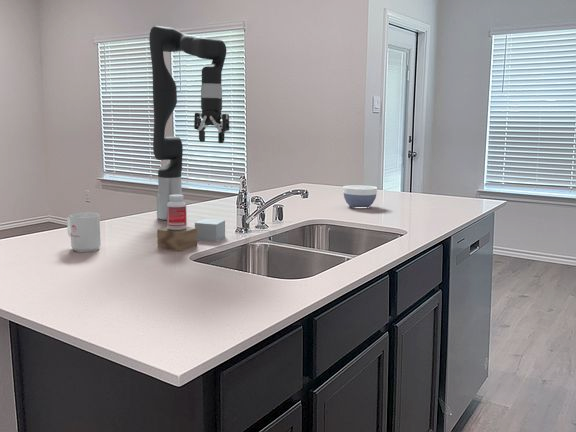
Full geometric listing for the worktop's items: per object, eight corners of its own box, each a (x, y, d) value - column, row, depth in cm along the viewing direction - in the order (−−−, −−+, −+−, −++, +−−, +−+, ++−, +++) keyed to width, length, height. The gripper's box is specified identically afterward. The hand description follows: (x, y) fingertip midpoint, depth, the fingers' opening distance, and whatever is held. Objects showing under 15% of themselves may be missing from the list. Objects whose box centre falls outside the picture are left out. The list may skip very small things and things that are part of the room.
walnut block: (157, 247, 191) (157, 229, 189) (176, 242, 198) (175, 225, 197) (179, 251, 186) (178, 232, 185) (197, 246, 194) (196, 228, 193)
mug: (106, 248, 188) (105, 214, 186) (85, 254, 181) (83, 218, 179) (80, 243, 194) (78, 210, 192) (58, 249, 186) (56, 214, 184)
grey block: (194, 239, 202) (194, 222, 201) (204, 235, 210) (204, 218, 209) (216, 241, 200) (216, 224, 199) (225, 236, 208) (225, 220, 207)
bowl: (381, 206, 279) (382, 186, 277) (367, 211, 265) (368, 190, 264) (351, 203, 287) (352, 184, 285) (336, 207, 274) (337, 187, 272)
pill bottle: (189, 229, 190) (189, 195, 188) (171, 231, 187) (171, 197, 185) (181, 226, 195) (181, 193, 193) (164, 227, 192) (163, 194, 190)
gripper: (189, 96, 210) (189, 141, 213) (221, 96, 203) (220, 144, 206) (202, 96, 216) (202, 140, 219) (233, 97, 209) (233, 143, 212)
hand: (211, 142), depth 213 cm, fingers open, 8 cm apart
